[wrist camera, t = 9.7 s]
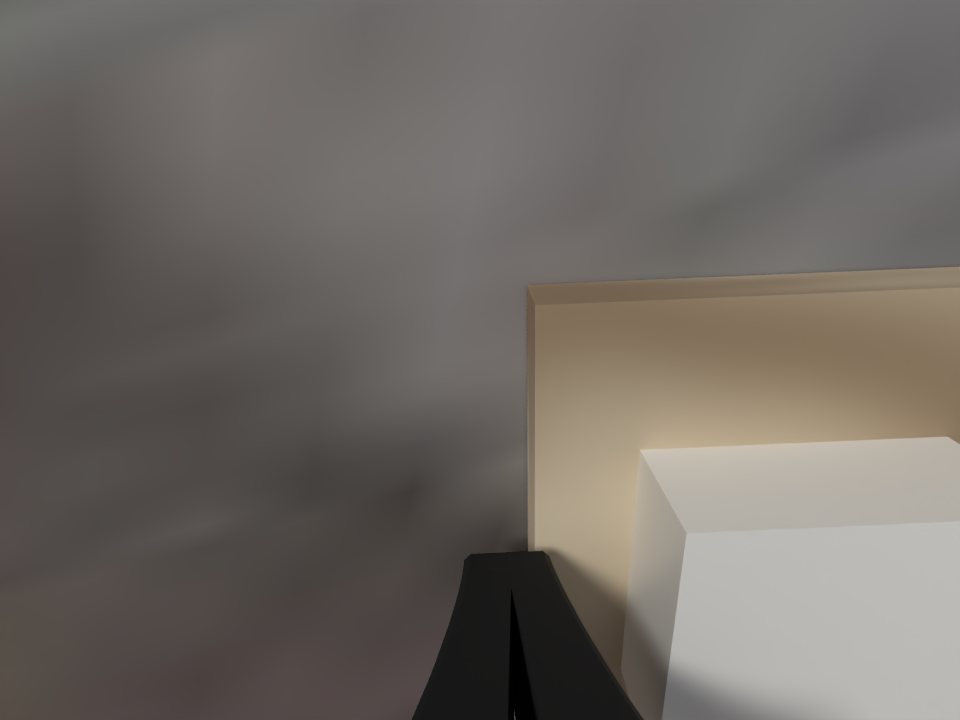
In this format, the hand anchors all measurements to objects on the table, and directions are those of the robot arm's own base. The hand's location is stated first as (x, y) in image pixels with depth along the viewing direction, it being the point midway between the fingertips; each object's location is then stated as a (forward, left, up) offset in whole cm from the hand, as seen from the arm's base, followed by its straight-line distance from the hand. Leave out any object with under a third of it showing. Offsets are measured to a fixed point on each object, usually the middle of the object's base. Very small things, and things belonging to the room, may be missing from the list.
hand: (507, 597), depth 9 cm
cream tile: (0, -5, 0) cm, 5 cm away
